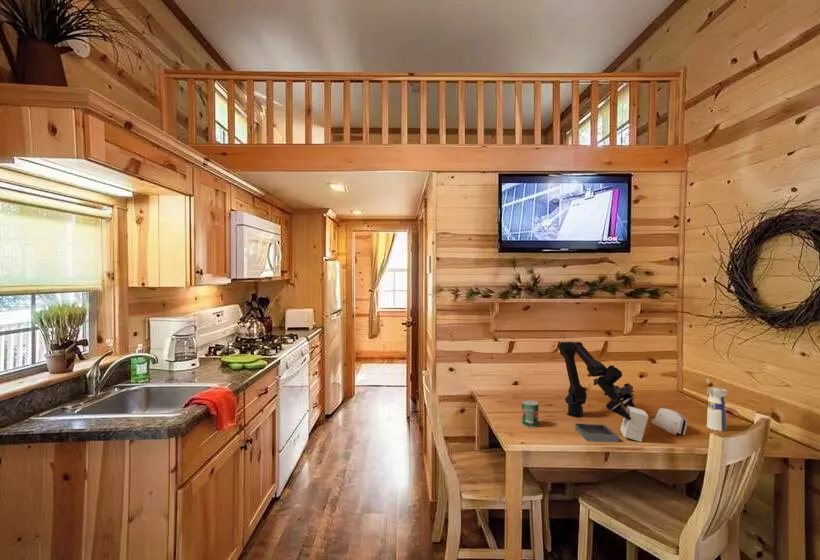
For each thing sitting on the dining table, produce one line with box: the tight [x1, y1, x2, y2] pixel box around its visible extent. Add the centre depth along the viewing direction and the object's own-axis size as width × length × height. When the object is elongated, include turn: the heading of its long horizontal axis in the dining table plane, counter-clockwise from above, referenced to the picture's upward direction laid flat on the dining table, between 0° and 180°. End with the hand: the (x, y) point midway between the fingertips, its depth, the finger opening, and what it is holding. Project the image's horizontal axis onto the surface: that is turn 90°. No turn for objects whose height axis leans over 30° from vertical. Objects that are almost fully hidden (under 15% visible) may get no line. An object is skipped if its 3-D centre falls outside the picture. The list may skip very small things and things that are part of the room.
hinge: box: [651, 407, 689, 436], centre depth 189 cm, size 17×5×10 cm, turn 4°
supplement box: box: [620, 405, 649, 443], centre depth 176 cm, size 7×7×13 cm
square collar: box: [574, 423, 620, 443], centre depth 180 cm, size 14×14×3 cm
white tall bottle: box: [705, 377, 730, 432], centre depth 189 cm, size 8×9×25 cm
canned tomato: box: [521, 399, 540, 428], centre depth 193 cm, size 8×8×11 cm
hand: (634, 417), depth 176 cm, fingers closed on supplement box, 9 cm apart
